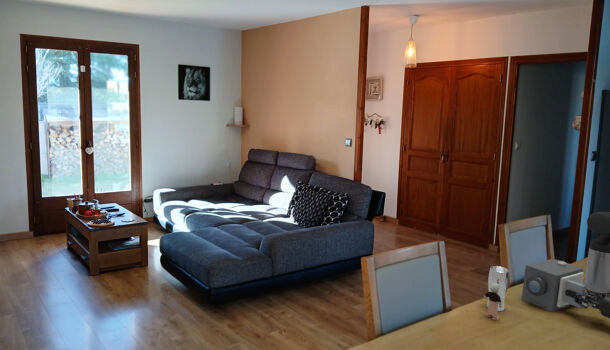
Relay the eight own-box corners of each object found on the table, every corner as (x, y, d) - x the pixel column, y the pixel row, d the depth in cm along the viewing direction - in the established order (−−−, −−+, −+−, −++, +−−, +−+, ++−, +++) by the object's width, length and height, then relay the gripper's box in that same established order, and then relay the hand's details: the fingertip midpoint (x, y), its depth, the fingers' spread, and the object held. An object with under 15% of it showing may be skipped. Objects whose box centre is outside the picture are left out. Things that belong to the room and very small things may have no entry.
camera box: (548, 291, 186) (553, 256, 184) (579, 302, 176) (584, 266, 173) (517, 300, 175) (521, 263, 173) (547, 313, 165) (552, 274, 163)
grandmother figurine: (504, 319, 159) (508, 285, 157) (498, 322, 156) (502, 287, 154) (484, 311, 165) (488, 278, 163) (478, 313, 162) (482, 280, 160)
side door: (577, 299, 174) (581, 272, 172) (597, 306, 168) (601, 278, 166) (556, 306, 167) (560, 277, 165) (576, 314, 161) (580, 284, 159)
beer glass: (505, 306, 170) (510, 268, 168) (505, 313, 164) (510, 274, 161) (486, 302, 173) (490, 264, 170) (484, 309, 166) (489, 270, 164)
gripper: (632, 296, 154) (580, 278, 169) (611, 303, 147) (558, 284, 162) (628, 316, 155) (577, 297, 170) (607, 325, 148) (556, 304, 163)
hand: (568, 291), depth 166 cm, fingers closed on side door, 2 cm apart
